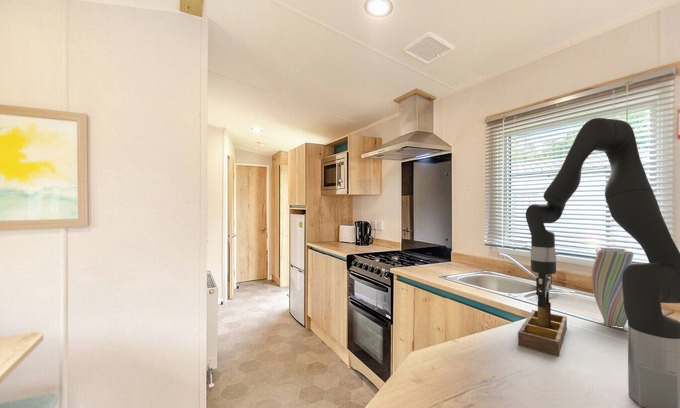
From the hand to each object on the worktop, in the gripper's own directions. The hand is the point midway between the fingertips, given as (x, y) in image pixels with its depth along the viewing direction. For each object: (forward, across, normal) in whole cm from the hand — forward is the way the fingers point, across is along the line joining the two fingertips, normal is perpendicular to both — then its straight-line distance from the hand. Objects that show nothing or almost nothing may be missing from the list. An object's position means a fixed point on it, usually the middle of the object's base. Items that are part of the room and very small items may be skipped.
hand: (543, 304), depth 105 cm
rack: (+12, 0, 0) cm, 12 cm away
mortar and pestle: (+11, 0, 0) cm, 11 cm away
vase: (+12, +30, -19) cm, 38 cm away
